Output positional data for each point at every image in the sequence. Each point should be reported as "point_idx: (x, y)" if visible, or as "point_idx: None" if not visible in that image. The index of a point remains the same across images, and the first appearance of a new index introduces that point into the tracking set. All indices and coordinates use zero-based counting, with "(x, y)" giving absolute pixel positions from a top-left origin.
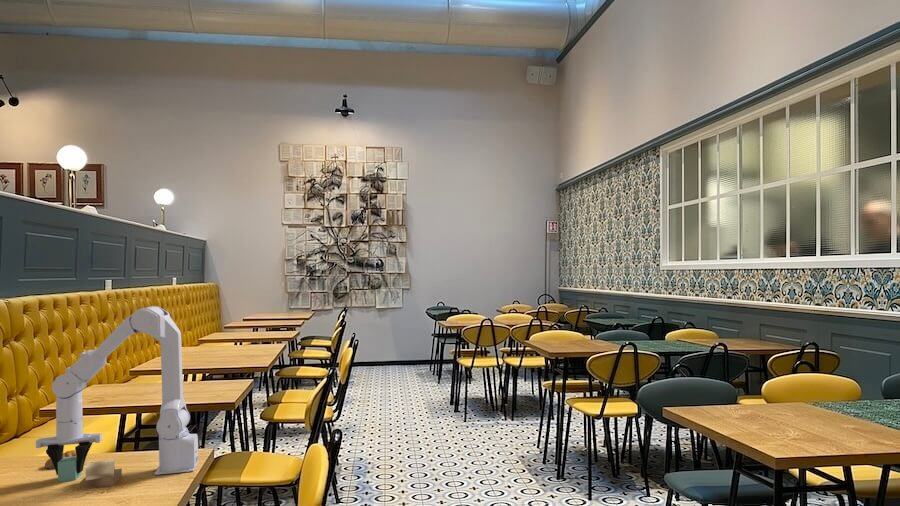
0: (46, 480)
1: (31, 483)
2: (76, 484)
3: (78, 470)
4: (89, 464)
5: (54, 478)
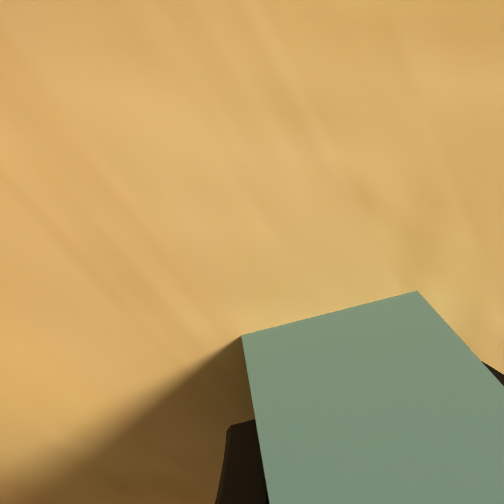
0: (120, 433)
1: (23, 498)
2: None
3: None
4: None
5: (167, 386)
